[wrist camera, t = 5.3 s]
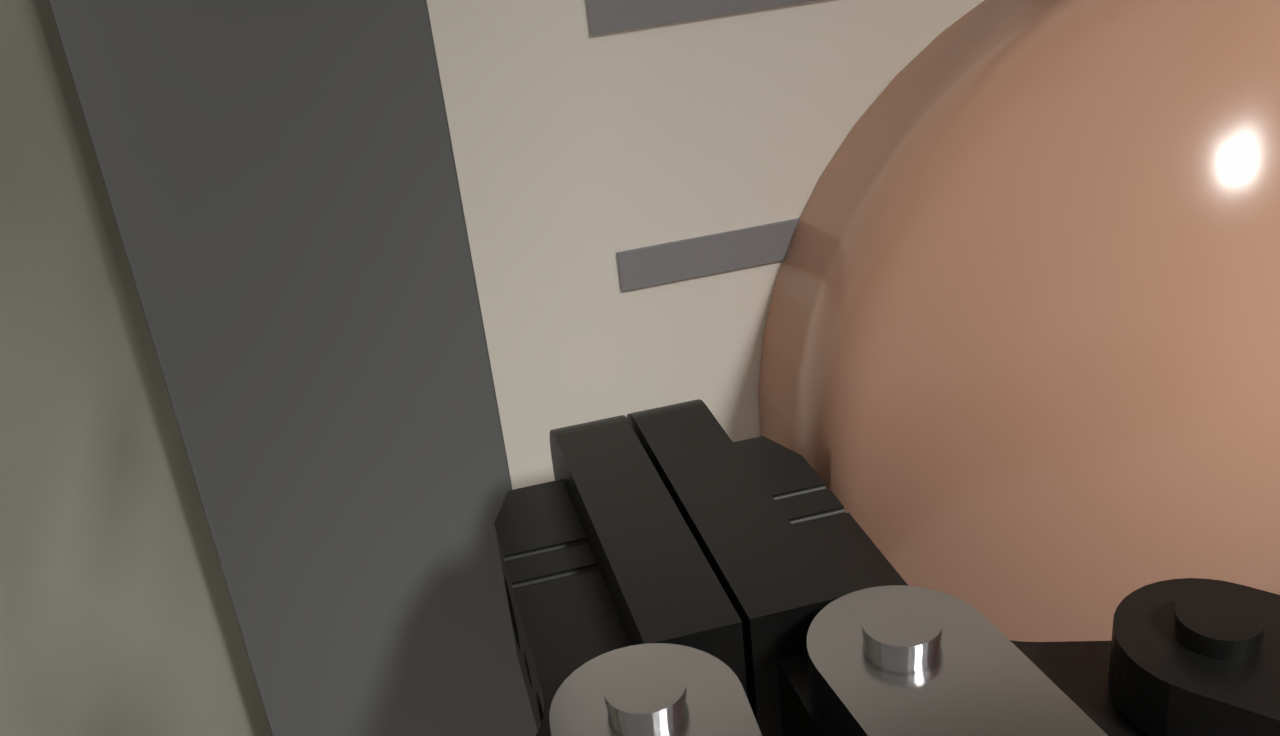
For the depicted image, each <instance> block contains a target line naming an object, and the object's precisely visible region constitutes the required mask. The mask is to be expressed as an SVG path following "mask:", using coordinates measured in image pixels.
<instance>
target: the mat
mask: <svg viewBox="0 0 1280 736" xmlns="http://www.w3.org/2000/svg"><path fill="white" fill-rule="evenodd" d="M983 1H984V0H49V2H50V5H51V8H52V11H53V15H54V18H55V21H56V25H57V28H58V31H59V34H60V38H61V41H62V44H63V48H64V51H65V54H66V57H67V61H68V64H69V67H70V71H71V74H72V77H73V81H74V84H75V87H76V90H77V94H78V97H79V100H80V104H81V107H82V110H83V113H84V117H85V120H86V123H87V127H88V130H89V133H90V136H91V140H92V143H93V146H94V150H95V153H96V156H97V159H98V163H99V166H100V169H101V173H102V176H103V179H104V182H105V186H106V189H107V192H108V196H109V199H110V202H111V205H112V209H113V212H114V215H115V219H116V222H117V225H118V228H119V232H120V235H121V238H122V242H123V245H124V248H125V251H126V255H127V258H128V261H129V265H130V268H131V271H132V274H133V278H134V281H135V284H136V288H137V291H138V294H139V297H140V301H141V304H142V307H143V311H144V314H145V317H146V320H147V324H148V327H149V330H150V334H151V337H152V340H153V343H154V347H155V350H156V353H157V357H158V360H159V363H160V367H161V370H162V373H163V376H164V380H165V383H166V386H167V390H168V393H169V396H170V399H171V403H172V406H173V409H174V413H175V416H176V419H177V422H178V426H179V429H180V432H181V436H182V439H183V442H184V445H185V449H186V452H187V455H188V459H189V462H190V465H191V468H192V472H193V475H194V478H195V482H196V485H197V488H198V491H199V495H200V498H201V501H202V505H203V508H204V511H205V514H206V518H207V521H208V524H209V528H210V531H211V534H212V537H213V541H214V544H215V547H216V551H217V554H218V557H219V560H220V564H221V567H222V570H223V574H224V577H225V580H226V583H227V587H228V590H229V593H230V597H231V600H232V603H233V606H234V610H235V613H236V616H237V620H238V623H239V626H240V629H241V633H242V636H243V639H244V643H245V646H246V649H247V653H248V656H249V659H250V662H251V666H252V669H253V672H254V676H255V679H256V682H257V685H258V689H259V692H260V695H261V699H262V702H263V705H264V708H265V712H266V715H267V718H268V722H269V725H270V728H271V731H272V735H273V736H536V735H537V733H538V731H537V726H536V722H535V720H534V716H533V712H532V708H531V705H530V701H529V697H528V692H527V690H526V686H525V682H524V679H523V675H522V671H521V668H520V664H519V660H518V656H517V652H516V646H515V640H514V634H513V629H512V623H511V617H510V611H509V606H508V600H507V594H506V588H505V583H504V577H503V571H502V565H501V560H500V554H499V548H498V542H497V537H496V531H495V525H494V523H495V520H496V518H497V516H498V513H499V511H500V509H501V506H502V504H503V502H504V499H505V497H506V495H507V492H508V491H509V490H514V489H518V488H523V487H528V486H532V485H537V484H542V483H546V482H551V481H555V478H554V471H553V464H552V457H551V449H550V430H553V429H557V428H562V427H567V426H572V425H577V424H582V423H587V422H591V421H596V420H601V419H606V418H611V417H616V416H621V415H624V416H625V417H627V415H628V414H629V413H634V412H639V411H644V410H649V409H654V408H658V407H663V406H668V405H673V404H678V403H683V402H688V401H692V400H697V399H700V400H702V401H703V402H704V403H705V404H706V406H707V407H708V408H709V410H710V411H711V413H712V414H713V415H714V417H715V418H716V420H717V421H718V422H719V424H720V425H721V426H722V428H723V429H724V431H725V432H726V433H727V435H728V436H729V438H730V439H731V440H732V442H737V441H742V440H746V439H751V438H756V437H760V421H759V395H758V384H759V374H760V364H761V354H762V344H763V335H764V330H765V326H766V322H767V317H768V313H769V309H770V304H771V300H772V296H773V291H774V287H775V283H776V280H777V277H778V274H779V272H780V269H781V266H782V263H783V261H784V258H785V255H786V252H787V250H788V247H789V244H790V241H791V239H792V236H793V233H794V230H795V228H796V226H797V224H798V222H799V220H800V218H801V216H802V214H803V212H804V210H805V208H806V206H807V204H808V202H809V200H810V198H811V196H812V194H813V192H814V190H815V188H816V186H817V184H818V182H819V180H820V178H821V176H822V174H823V173H824V171H825V170H826V168H827V167H828V165H829V164H830V162H831V161H832V159H833V158H834V156H835V155H836V153H837V152H838V150H839V149H840V147H841V146H842V144H843V143H844V141H845V139H846V138H847V136H848V135H849V133H850V132H851V130H852V129H853V127H854V126H855V124H856V123H857V122H858V121H859V119H860V118H861V117H862V116H863V115H864V113H865V112H866V111H867V110H868V109H869V107H870V106H871V105H872V104H873V103H874V101H875V100H876V99H877V98H878V97H879V95H880V94H881V93H882V92H883V91H884V89H885V88H886V87H887V86H888V85H889V83H890V82H891V81H892V80H893V79H894V77H895V76H896V75H897V74H898V73H899V72H900V71H901V70H902V69H904V68H905V67H906V66H907V65H908V64H909V63H910V62H911V61H912V60H913V59H914V58H915V57H916V56H917V55H918V54H919V53H920V52H921V51H922V50H923V49H924V48H926V47H927V46H928V45H929V44H930V43H931V42H932V41H933V40H934V39H935V38H936V37H937V36H938V35H939V34H940V33H941V32H943V31H944V30H945V29H947V28H948V27H949V26H951V25H952V24H953V23H955V22H956V21H957V20H959V19H960V18H961V17H963V16H964V15H965V14H967V13H968V12H969V11H971V10H972V9H973V8H975V7H976V6H977V5H979V4H980V3H981V2H983Z"/></svg>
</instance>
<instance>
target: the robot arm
mask: <svg viewBox="0 0 1280 736" xmlns="http://www.w3.org/2000/svg"><path fill="white" fill-rule="evenodd" d="M550 449H551V457H552V464H553V471H554V478H555V481H551V482H546V483H542V484H537V485H532V486H528V487H523V488H518V489H514V490H509V491H508V492H507V495H506V497H505V499H504V502H503V504H502V506H501V509H500V511H499V513H498V516H497V518H496V520H495V523H494V525H495V531H496V537H497V542H498V548H499V554H500V560H501V565H502V571H503V577H504V583H505V588H506V594H507V600H508V606H509V611H510V617H511V623H512V629H513V634H514V640H515V646H516V652H517V656H518V660H519V664H520V668H521V671H522V675H523V679H524V682H525V686H526V690H527V692H528V697H529V701H530V705H531V708H532V712H533V716H534V720H535V722H536V726H537V731H538V733H537V735H536V736H1280V595H1278V594H1274V593H1270V592H1267V591H1263V590H1259V589H1256V588H1252V587H1248V586H1245V585H1240V584H1236V583H1231V582H1227V581H1221V580H1213V579H1201V578H1183V579H1171V580H1165V581H1159V582H1155V583H1152V584H1149V585H1145V586H1143V587H1141V588H1139V589H1137V590H1135V591H1133V592H1132V593H1130V594H1129V595H1128V596H1126V597H1125V598H1124V599H1123V600H1122V601H1121V603H1120V604H1119V605H1118V606H1117V609H1116V611H1115V613H1114V618H1113V628H1112V641H1068V642H1021V641H1012V640H1009V639H1008V638H1007V637H1006V636H1005V635H1004V634H1003V633H1002V632H1001V631H1000V630H999V629H998V628H997V627H996V626H994V625H993V624H992V623H991V622H990V621H989V620H988V619H987V618H986V617H985V616H984V615H983V614H982V613H981V612H979V611H978V610H977V609H976V608H974V607H973V606H971V605H970V604H968V603H966V602H964V601H963V600H961V599H959V598H956V597H954V596H952V595H949V594H947V593H943V592H940V591H937V590H933V589H928V588H922V587H916V586H908V585H907V583H906V582H905V581H904V580H903V578H902V577H901V576H900V575H899V573H898V572H897V571H896V570H895V569H894V567H893V566H892V565H891V564H890V562H889V561H888V560H887V559H886V558H885V556H884V555H883V554H882V553H881V551H880V550H879V549H878V548H877V546H876V545H875V544H874V543H873V542H872V540H871V539H870V538H869V537H868V535H867V534H866V533H865V532H864V531H863V529H862V528H861V527H860V526H859V524H858V523H857V522H856V521H855V519H854V518H853V517H852V516H851V515H850V513H845V510H844V506H843V505H842V504H841V502H840V501H839V500H838V499H837V497H836V496H835V495H834V494H833V492H832V491H831V490H830V489H828V490H827V489H826V486H825V483H824V481H823V480H822V479H821V478H820V477H819V475H818V474H817V473H816V472H815V470H814V469H813V468H812V467H811V465H810V464H809V463H808V462H807V461H806V459H805V458H804V457H803V456H802V455H800V454H798V453H796V452H794V451H792V450H790V449H788V448H786V447H784V446H782V445H780V444H778V443H776V442H774V441H772V440H770V439H768V438H766V437H764V436H760V437H756V438H751V439H746V440H742V441H737V442H732V440H731V439H730V438H729V436H728V435H727V433H726V432H725V431H724V429H723V428H722V426H721V425H720V424H719V422H718V421H717V420H716V418H715V417H714V415H713V414H712V413H711V411H710V410H709V408H708V407H707V406H706V404H705V403H704V402H703V401H702V400H700V399H697V400H692V401H688V402H683V403H678V404H673V405H668V406H663V407H658V408H654V409H649V410H644V411H639V412H634V413H629V414H628V415H627V417H625V416H624V415H621V416H616V417H611V418H606V419H601V420H596V421H591V422H587V423H582V424H577V425H572V426H567V427H562V428H557V429H553V430H550Z"/></svg>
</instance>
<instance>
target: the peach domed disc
mask: <svg viewBox="0 0 1280 736" xmlns="http://www.w3.org/2000/svg"><path fill="white" fill-rule="evenodd" d="M758 395H759V421H760V436H764V437H766V438H768V439H770V440H772V441H774V442H776V443H778V444H780V445H782V446H784V447H786V448H788V449H790V450H792V451H794V452H796V453H798V454H800V455H802V456H803V457H804V458H805V459H806V461H807V462H808V463H809V464H810V465H811V467H812V468H813V469H814V470H815V472H816V473H817V474H818V475H819V477H820V478H821V479H822V480H823V481H824V483H825V486H826V489H827V490H828V489H830V490H831V491H832V492H833V494H834V495H835V496H836V497H837V499H838V500H839V501H840V502H841V504H842V505H843V506H844V510H845V513H850V515H851V516H852V517H853V518H854V519H855V521H856V522H857V523H858V524H859V526H860V527H861V528H862V529H863V531H864V532H865V533H866V534H867V535H868V537H869V538H870V539H871V540H872V542H873V543H874V544H875V545H876V546H877V548H878V549H879V550H880V551H881V553H882V554H883V555H884V556H885V558H886V559H887V560H888V561H889V562H890V564H891V565H892V566H893V567H894V569H895V570H896V571H897V572H898V573H899V575H900V576H901V577H902V578H903V580H904V581H905V582H906V583H907V585H908V586H916V587H922V588H928V589H933V590H937V591H940V592H943V593H947V594H949V595H952V596H954V597H956V598H959V599H961V600H963V601H964V602H966V603H968V604H970V605H971V606H973V607H974V608H976V609H977V610H978V611H979V612H981V613H982V614H983V615H984V616H985V617H986V618H987V619H988V620H989V621H990V622H991V623H992V624H993V625H994V626H996V627H997V628H998V629H999V630H1000V631H1001V632H1002V633H1003V634H1004V635H1005V636H1006V637H1007V638H1008V639H1009V640H1012V641H1021V642H1068V641H1112V628H1113V618H1114V613H1115V611H1116V609H1117V606H1118V605H1119V604H1120V603H1121V601H1122V600H1123V599H1124V598H1125V597H1126V596H1128V595H1129V594H1130V593H1132V592H1133V591H1135V590H1137V589H1139V588H1141V587H1143V586H1145V585H1149V584H1152V583H1155V582H1159V581H1165V580H1171V579H1183V578H1201V579H1213V580H1221V581H1227V582H1231V583H1236V584H1240V585H1245V586H1248V587H1252V588H1256V589H1259V590H1263V591H1267V592H1270V593H1274V594H1278V595H1280V0H984V1H983V2H981V3H980V4H979V5H977V6H976V7H975V8H973V9H972V10H971V11H969V12H968V13H967V14H965V15H964V16H963V17H961V18H960V19H959V20H957V21H956V22H955V23H953V24H952V25H951V26H949V27H948V28H947V29H945V30H944V31H943V32H941V33H940V34H939V35H938V36H937V37H936V38H935V39H934V40H933V41H932V42H931V43H930V44H929V45H928V46H927V47H926V48H924V49H923V50H922V51H921V52H920V53H919V54H918V55H917V56H916V57H915V58H914V59H913V60H912V61H911V62H910V63H909V64H908V65H907V66H906V67H905V68H904V69H902V70H901V71H900V72H899V73H898V74H897V75H896V76H895V77H894V79H893V80H892V81H891V82H890V83H889V85H888V86H887V87H886V88H885V89H884V91H883V92H882V93H881V94H880V95H879V97H878V98H877V99H876V100H875V101H874V103H873V104H872V105H871V106H870V107H869V109H868V110H867V111H866V112H865V113H864V115H863V116H862V117H861V118H860V119H859V121H858V122H857V123H856V124H855V126H854V127H853V129H852V130H851V132H850V133H849V135H848V136H847V138H846V139H845V141H844V143H843V144H842V146H841V147H840V149H839V150H838V152H837V153H836V155H835V156H834V158H833V159H832V161H831V162H830V164H829V165H828V167H827V168H826V170H825V171H824V173H823V174H822V176H821V178H820V180H819V182H818V184H817V186H816V188H815V190H814V192H813V194H812V196H811V198H810V200H809V202H808V204H807V206H806V208H805V210H804V212H803V214H802V216H801V218H800V220H799V222H798V224H797V226H796V228H795V230H794V233H793V236H792V239H791V241H790V244H789V247H788V250H787V252H786V255H785V258H784V261H783V263H782V266H781V269H780V272H779V274H778V277H777V280H776V283H775V287H774V291H773V296H772V300H771V304H770V309H769V313H768V317H767V322H766V326H765V330H764V335H763V344H762V354H761V364H760V374H759V384H758Z"/></svg>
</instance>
